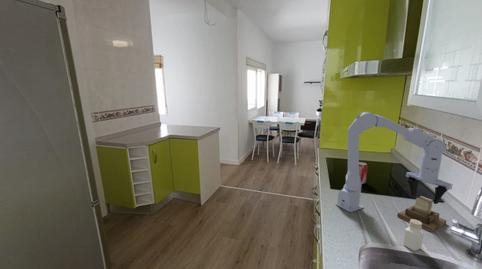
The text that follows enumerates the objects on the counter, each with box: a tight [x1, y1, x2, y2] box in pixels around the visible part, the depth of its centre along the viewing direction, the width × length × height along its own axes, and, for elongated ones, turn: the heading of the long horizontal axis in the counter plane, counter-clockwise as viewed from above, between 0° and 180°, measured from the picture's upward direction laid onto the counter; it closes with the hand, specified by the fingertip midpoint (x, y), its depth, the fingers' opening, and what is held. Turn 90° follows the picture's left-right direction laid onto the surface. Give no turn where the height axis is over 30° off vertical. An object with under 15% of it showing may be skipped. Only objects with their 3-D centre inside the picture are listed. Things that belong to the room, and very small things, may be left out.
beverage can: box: [359, 161, 369, 185], centre depth 128 cm, size 6×6×12 cm
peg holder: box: [396, 204, 448, 233], centre depth 90 cm, size 12×12×4 cm
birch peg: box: [414, 195, 434, 217], centre depth 90 cm, size 4×4×8 cm
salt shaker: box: [402, 219, 424, 252], centre depth 74 cm, size 4×4×10 cm
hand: (424, 199), depth 89 cm, fingers open, 7 cm apart
